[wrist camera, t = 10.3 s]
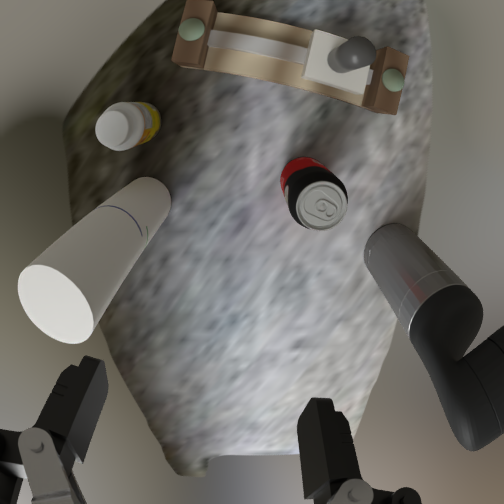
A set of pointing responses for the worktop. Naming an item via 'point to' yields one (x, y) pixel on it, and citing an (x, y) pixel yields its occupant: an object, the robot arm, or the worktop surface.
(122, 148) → the supplement bottle
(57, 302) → the cylindrical container
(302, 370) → the worktop surface
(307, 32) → the rail
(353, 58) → the carriage
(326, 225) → the beverage can
